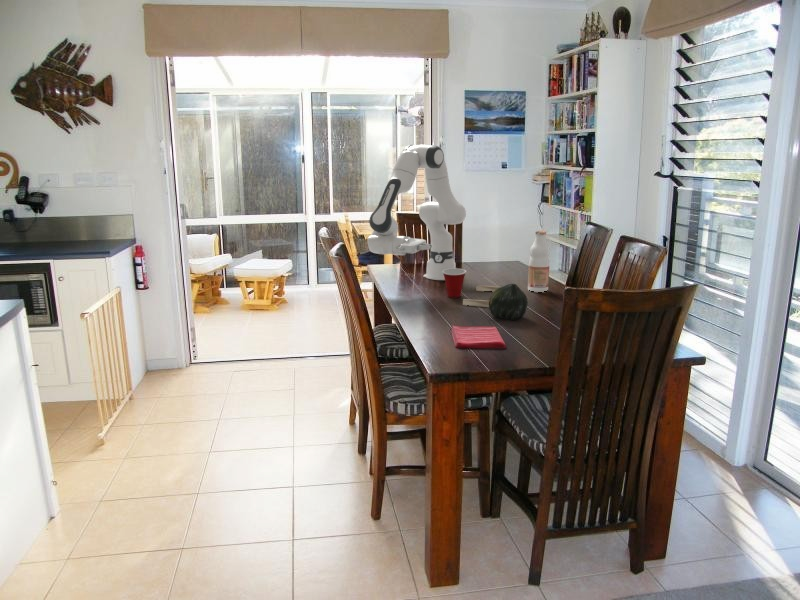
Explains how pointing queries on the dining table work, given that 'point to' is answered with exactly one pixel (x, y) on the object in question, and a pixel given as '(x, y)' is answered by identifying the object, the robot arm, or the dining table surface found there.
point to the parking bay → (480, 302)
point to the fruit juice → (539, 264)
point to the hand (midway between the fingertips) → (430, 247)
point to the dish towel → (477, 337)
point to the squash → (508, 302)
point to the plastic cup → (454, 281)
